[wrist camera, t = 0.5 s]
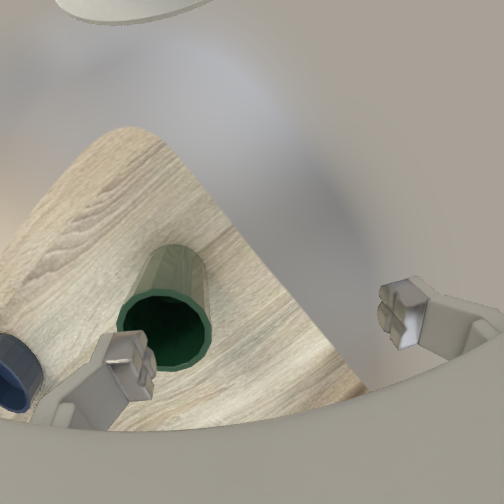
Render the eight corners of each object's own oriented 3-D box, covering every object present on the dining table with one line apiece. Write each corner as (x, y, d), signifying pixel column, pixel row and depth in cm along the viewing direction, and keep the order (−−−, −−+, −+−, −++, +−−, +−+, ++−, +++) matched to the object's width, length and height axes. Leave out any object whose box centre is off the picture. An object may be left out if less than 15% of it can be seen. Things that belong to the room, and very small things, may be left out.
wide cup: (-20, 340, 28) (-38, 359, 23) (17, 325, 29) (-2, 346, 24) (15, 393, 32) (3, 415, 26) (56, 385, 32) (43, 410, 27)
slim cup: (133, 257, 30) (100, 307, 18) (192, 234, 30) (188, 274, 19) (159, 312, 32) (144, 380, 21) (215, 292, 32) (225, 356, 21)
